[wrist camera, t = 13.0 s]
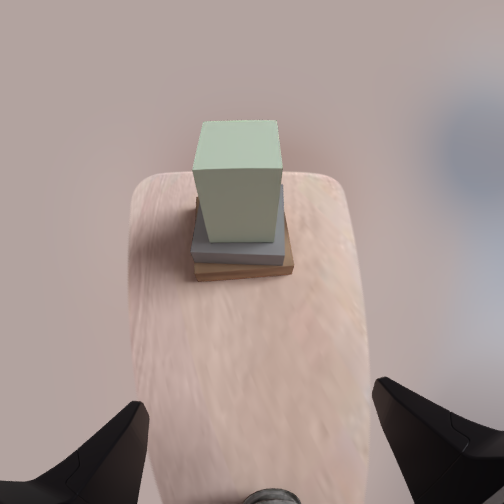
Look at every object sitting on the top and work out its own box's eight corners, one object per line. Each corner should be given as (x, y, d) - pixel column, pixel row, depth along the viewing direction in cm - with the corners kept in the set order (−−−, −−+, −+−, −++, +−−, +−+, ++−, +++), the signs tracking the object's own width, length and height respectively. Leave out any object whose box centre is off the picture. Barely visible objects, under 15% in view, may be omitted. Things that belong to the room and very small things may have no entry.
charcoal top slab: (282, 265, 25) (284, 255, 23) (194, 262, 25) (190, 252, 23) (281, 197, 28) (283, 184, 27) (206, 195, 29) (203, 182, 27)
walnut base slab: (290, 276, 27) (294, 265, 25) (199, 284, 26) (194, 273, 24) (278, 204, 31) (280, 190, 29) (200, 210, 31) (196, 196, 29)
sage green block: (273, 242, 23) (282, 168, 16) (209, 242, 23) (192, 169, 16) (271, 193, 26) (276, 120, 19) (214, 194, 26) (203, 121, 19)
